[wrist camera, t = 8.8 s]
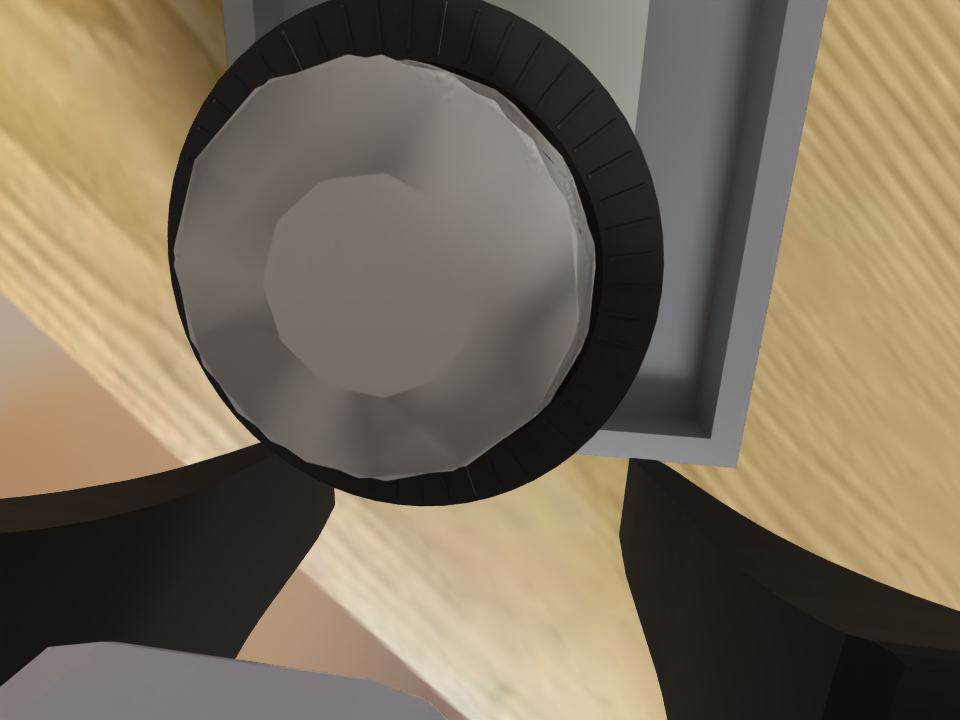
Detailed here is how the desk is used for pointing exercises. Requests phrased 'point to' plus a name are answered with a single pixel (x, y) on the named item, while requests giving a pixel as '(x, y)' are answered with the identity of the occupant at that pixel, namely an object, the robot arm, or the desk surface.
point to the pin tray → (682, 186)
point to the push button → (415, 248)
